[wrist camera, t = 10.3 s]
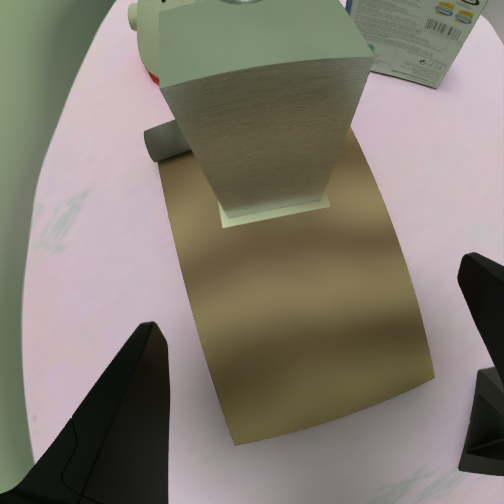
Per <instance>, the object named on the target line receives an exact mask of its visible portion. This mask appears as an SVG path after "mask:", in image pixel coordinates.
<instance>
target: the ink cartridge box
mask: <svg viewBox="0 0 504 504" xmlns="http://www.w3.org/2000/svg"><path fill="white" fill-rule="evenodd" d="M487 2H488V0H347V1H346V7H345V10H346V11H347V13H348V14H349V16H350V17H351V19H352V20H353V22H354V23H355V25H356V26H357V28H358V29H359V31H360V33H361V34H362V36H363V37H364V39H365V41H366V42H367V44H368V46H369V47H370V49H371V51H372V52H373V54H374V56H375V58H374V61H373V64H372V67H371V70H370V71H375V72H379V73H383V74H388V75H392V76H395V77H399V78H403V79H406V80H410V81H413V82H417V83H421V84H424V85H427V86H430V87H433V88H437V87H438V86H439V84H440V83H441V81H442V79H443V78H444V76H445V74H446V73H447V71H448V69H449V68H450V66H451V64H452V63H453V61H454V60H455V58H456V56H457V54H458V53H459V51H460V49H461V48H462V46H463V44H464V42H465V40H466V39H467V37H468V35H469V34H470V32H471V30H472V28H473V27H474V25H475V23H476V21H477V20H478V18H479V16H480V14H481V12H482V11H483V9H484V7H485V5H486V3H487Z"/></svg>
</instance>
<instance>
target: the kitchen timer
mask: <svg viewBox="0 0 504 504" xmlns="http://www.w3.org/2000/svg"><path fill="white" fill-rule="evenodd" d="M200 1H204V0H138V4H135V3H132V4H131V5H130V6H129V8H128V20H129V24H130V27H131V29H132V30H134V31H137V42H138V50H139V54H140V57H141V60H142V62H143V64H144V65H145V67H146V69H147V71H148V73H149V74H150V76H151V78H152V80H153V81H154V82H155V83H156V84H158V85H159V12H161V11H165V10H168V9H172V8H175V7H179V6H183V5H187V4H191V3H195V2H200Z"/></svg>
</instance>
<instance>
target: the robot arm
mask: <svg viewBox="0 0 504 504" xmlns="http://www.w3.org/2000/svg"><path fill="white" fill-rule="evenodd" d="M457 279H458V284H459V286H460V288H461V291H462V293H463V295H464V298H465V300H466V302H467V305H468V307H469V310H470V312H471V315H472V317H473V320H474V322H475V324H476V327H477V329H478V331H479V333H480V335H481V337H482V339H483V341H484V343H485V345H486V348H487V350H488V352H489V354H490V356H491V359H492V361H493V363H494V366H495V368H496V370H497V373H498V375H499V378H500V380H501V383H502V385H503V388H504V266H502V265H500V264H498V263H496V262H494V261H492V260H490V259H488V258H486V257H484V256H482V255H480V254H478V253H476V252H472V253H468V254H465V255H464V256H463V257H462V260H461V264H460V268H459V272H458V276H457ZM169 418H170V379H169V361H168V345H167V341H166V339H165V337H164V335H163V334H162V332H161V330H160V329H159V327H158V325H157V324H156V323H155V322H153V321H151V322H144V323H141V324H140V325H139V326H138V327H137V328H136V330H135V331H134V332H133V334H132V335H131V336H130V337H129V339H128V340H127V341H126V343H125V344H124V345H123V347H122V348H121V349H120V351H119V352H118V353H117V355H116V356H115V357H114V359H113V360H112V361H111V363H110V364H109V365H108V367H107V368H106V369H105V371H104V372H103V374H102V375H101V376H100V378H99V379H98V380H97V382H96V383H95V384H94V386H93V387H92V389H91V390H90V391H89V393H88V394H87V396H86V397H85V398H84V400H83V401H82V403H81V404H80V405H79V407H78V408H77V410H76V411H75V412H74V414H73V415H72V418H70V419H69V421H68V422H67V424H66V425H65V427H64V428H63V429H62V431H61V432H60V434H59V435H58V436H57V438H56V439H55V440H54V442H53V443H52V444H51V446H50V447H49V448H48V449H47V451H46V452H45V453H44V454H43V456H42V457H41V458H40V459H39V460H38V462H37V463H36V464H35V465H34V467H33V468H32V469H31V470H30V471H29V473H28V474H27V475H26V476H25V478H24V479H23V480H22V481H21V482H20V483H19V484H18V485H17V486H16V487H14V488H13V489H11V490H9V491H7V492H4V493H1V494H0V504H168V452H169Z"/></svg>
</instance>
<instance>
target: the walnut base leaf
mask: <svg viewBox="0 0 504 504" xmlns="http://www.w3.org/2000/svg"><path fill="white" fill-rule="evenodd" d="M144 140H145V144H146V147H147V150H148V153H149V155H150V157H151V159H152V160H153V161H154V162H158V167H159V172H160V177H161V182H162V187H163V192H164V197H165V202H166V206H167V211H168V216H169V220H170V225H171V229H172V234H173V238H174V242H175V246H176V251H177V255H178V259H179V263H180V267H181V271H182V275H183V279H184V283H185V287H186V290H187V294H188V298H189V302H190V305H191V309H192V313H193V316H194V320H195V323H196V327H197V331H198V334H199V337H200V341H201V344H202V348H203V351H204V354H205V358H206V361H207V364H208V367H209V371H210V374H211V377H212V380H213V383H214V386H215V389H216V393H217V396H218V399H219V402H220V405H221V408H222V411H223V413H224V416H225V419H226V422H227V425H228V428H229V431H230V434H231V436H232V439H233V442H234V445H240V444H245V443H250V442H255V441H259V440H264V439H268V438H272V437H276V436H280V435H284V434H288V433H291V432H295V431H299V430H302V429H306V428H309V427H312V426H316V425H319V424H322V423H325V422H328V421H331V420H334V419H337V418H340V417H343V416H346V415H349V414H352V413H355V412H357V411H360V410H363V409H365V408H368V407H370V406H373V405H376V404H378V403H380V402H383V401H385V400H388V399H390V398H392V397H395V396H397V395H399V394H402V393H404V392H406V391H408V390H411V389H413V388H415V387H417V386H419V385H421V384H423V383H425V382H427V381H429V380H431V379H433V378H435V377H434V371H433V366H432V361H431V356H430V352H429V347H428V343H427V338H426V334H425V330H424V326H423V322H422V318H421V314H420V310H419V306H418V303H417V299H416V295H415V292H414V288H413V285H412V282H411V278H410V275H409V272H408V269H407V265H406V262H405V259H404V256H403V253H402V250H401V247H400V244H399V241H398V238H397V236H396V233H395V230H394V227H393V224H392V222H391V219H390V216H389V214H388V211H387V209H386V206H385V203H384V201H383V198H382V196H381V193H380V191H379V189H378V186H377V184H376V181H375V179H374V177H373V174H372V172H371V170H370V167H369V165H368V163H367V161H366V158H365V156H364V154H363V152H362V150H361V147H360V145H359V143H358V141H357V139H356V137H355V135H354V133H353V131H352V129H351V127H349V130H348V132H347V135H346V138H345V140H344V143H343V145H342V148H341V151H340V153H339V156H338V158H337V161H336V163H335V166H334V168H333V171H332V174H331V176H330V179H329V181H328V183H327V186H326V188H325V191H324V193H323V196H322V198H321V201H319V202H313V203H307V204H302V205H297V206H291V207H286V208H281V209H275V210H270V211H265V212H260V213H255V214H250V215H245V216H240V217H235V218H230V219H228V218H227V216H226V214H225V212H224V210H223V208H222V206H221V205H220V203H219V201H218V199H217V197H216V195H215V193H214V191H213V189H212V188H211V186H210V184H209V182H208V180H207V178H206V176H205V174H204V172H203V171H202V169H201V167H200V165H199V163H198V161H197V159H196V157H195V155H194V154H193V152H192V150H191V148H190V146H189V144H188V142H187V140H186V138H185V136H184V135H183V133H182V131H181V129H180V127H179V125H178V123H177V121H176V119H175V120H173V121H170V122H167V123H164V124H162V125H159V126H156V127H154V128H151V129H148V130H146V131H144Z"/></svg>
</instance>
